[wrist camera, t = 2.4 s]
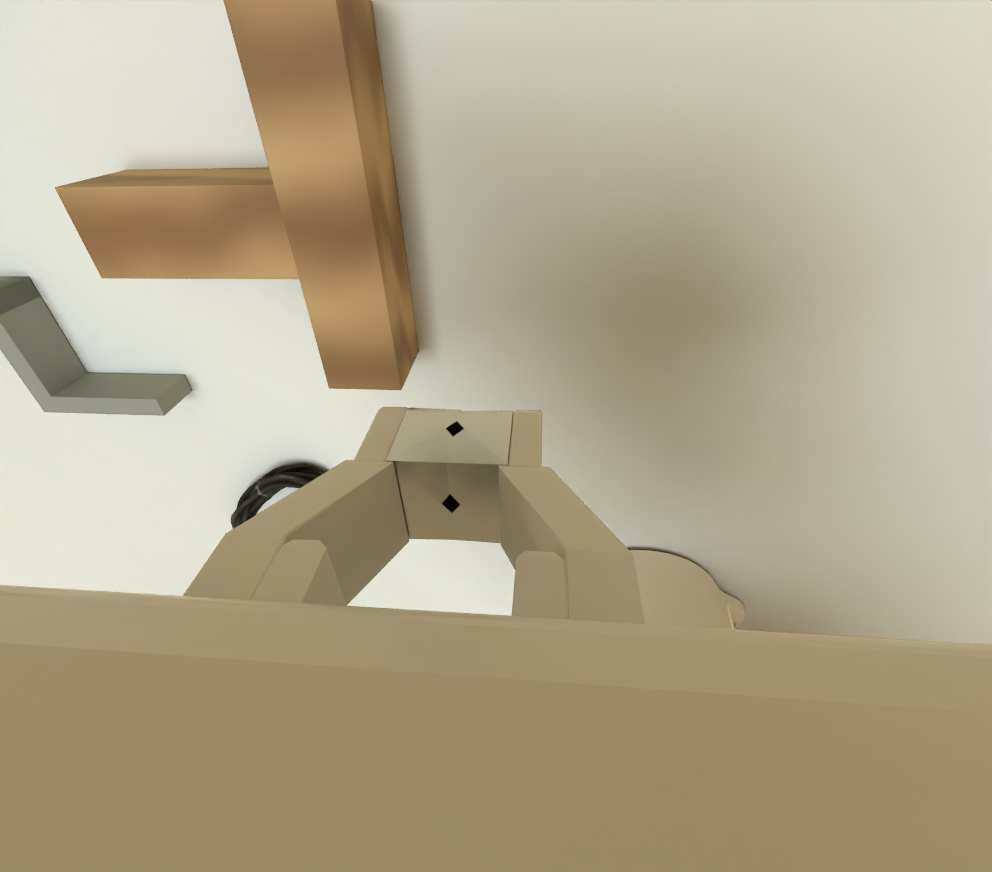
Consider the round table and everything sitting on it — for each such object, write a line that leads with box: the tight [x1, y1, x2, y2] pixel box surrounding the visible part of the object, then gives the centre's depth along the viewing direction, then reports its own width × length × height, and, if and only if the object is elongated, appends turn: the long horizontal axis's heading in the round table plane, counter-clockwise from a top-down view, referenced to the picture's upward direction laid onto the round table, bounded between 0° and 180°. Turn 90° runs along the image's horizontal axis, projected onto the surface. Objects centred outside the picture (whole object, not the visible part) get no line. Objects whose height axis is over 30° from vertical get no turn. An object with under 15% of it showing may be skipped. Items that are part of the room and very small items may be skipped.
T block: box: [55, 0, 419, 390], centre depth 24 cm, size 16×14×4 cm
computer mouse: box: [231, 465, 324, 529], centre depth 44 cm, size 10×32×6 cm, turn 160°
